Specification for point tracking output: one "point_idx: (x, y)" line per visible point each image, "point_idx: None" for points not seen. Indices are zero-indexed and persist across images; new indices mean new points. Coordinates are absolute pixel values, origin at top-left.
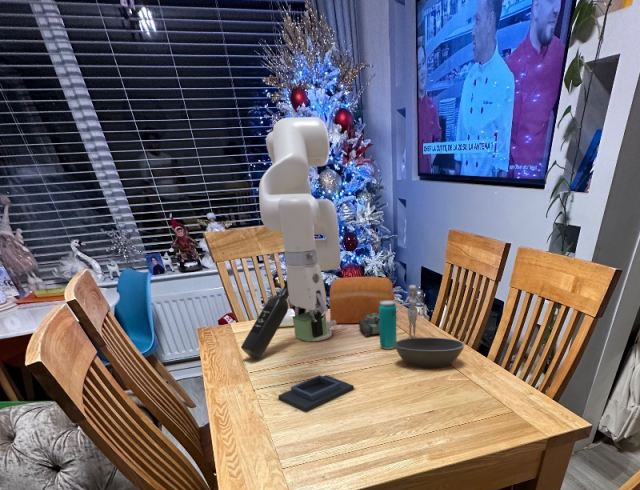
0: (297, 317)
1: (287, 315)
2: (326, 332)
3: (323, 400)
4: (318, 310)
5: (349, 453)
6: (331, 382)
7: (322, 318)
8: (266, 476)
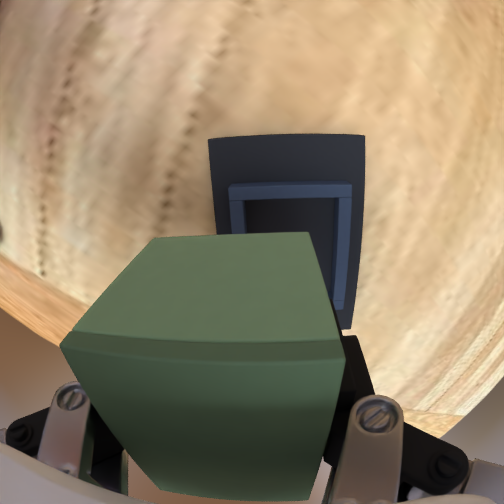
0: (207, 495)
1: None
2: (311, 243)
3: (357, 271)
4: (371, 500)
5: (491, 340)
6: (314, 196)
7: (397, 413)
8: (416, 425)
